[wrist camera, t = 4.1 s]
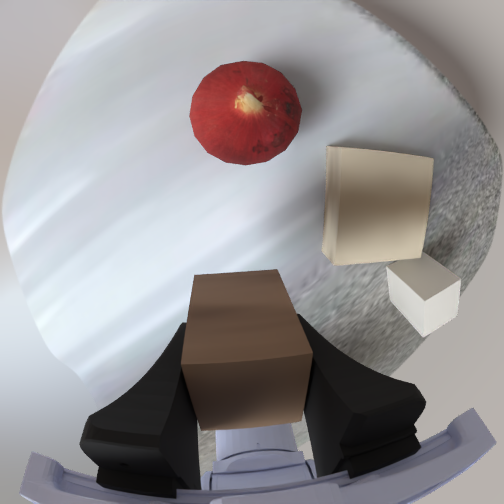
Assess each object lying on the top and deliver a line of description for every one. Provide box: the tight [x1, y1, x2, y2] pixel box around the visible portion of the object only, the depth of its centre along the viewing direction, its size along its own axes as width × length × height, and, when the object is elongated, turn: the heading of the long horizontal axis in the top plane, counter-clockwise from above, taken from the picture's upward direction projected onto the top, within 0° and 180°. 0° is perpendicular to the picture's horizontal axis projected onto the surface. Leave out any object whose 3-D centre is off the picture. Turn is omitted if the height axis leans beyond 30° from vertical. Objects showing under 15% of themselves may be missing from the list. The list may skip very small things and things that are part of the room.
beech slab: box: [322, 146, 434, 266], centre depth 19 cm, size 8×8×3 cm
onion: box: [190, 61, 302, 165], centre depth 13 cm, size 6×6×8 cm
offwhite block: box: [386, 251, 461, 337], centre depth 20 cm, size 4×4×6 cm
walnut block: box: [181, 269, 313, 431], centre depth 11 cm, size 4×4×6 cm
